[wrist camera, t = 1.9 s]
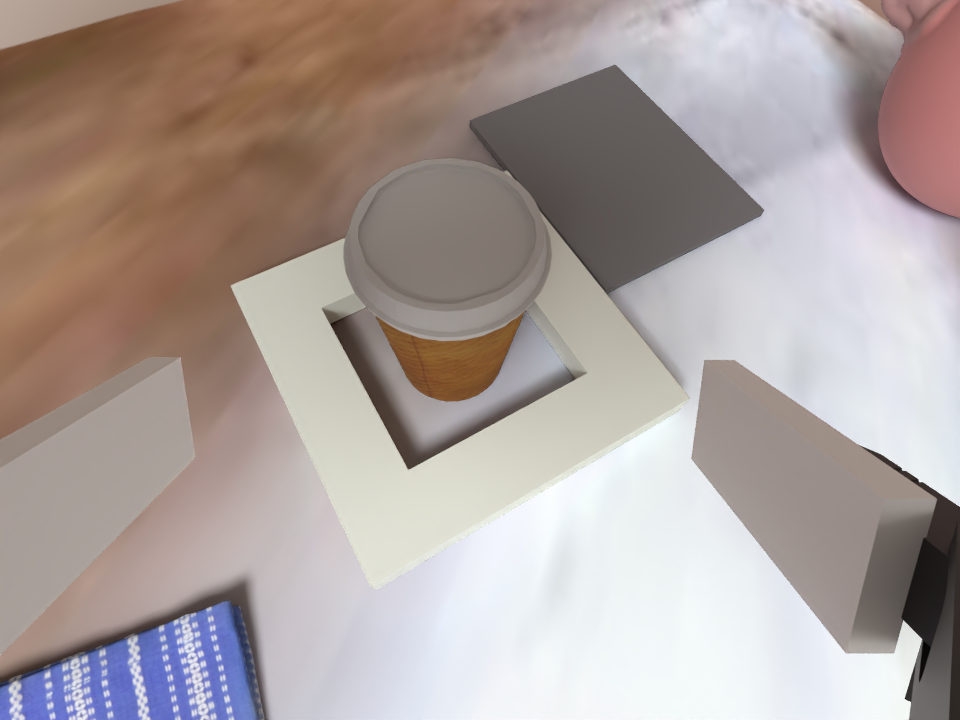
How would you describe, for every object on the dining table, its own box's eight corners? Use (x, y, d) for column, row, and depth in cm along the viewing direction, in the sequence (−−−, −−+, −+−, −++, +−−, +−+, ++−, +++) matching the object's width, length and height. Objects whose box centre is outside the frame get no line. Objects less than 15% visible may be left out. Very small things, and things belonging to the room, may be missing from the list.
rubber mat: (469, 126, 45) (469, 120, 45) (613, 71, 49) (615, 64, 48) (604, 294, 38) (606, 289, 38) (760, 215, 42) (764, 210, 41)
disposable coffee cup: (459, 267, 39) (458, 121, 28) (559, 362, 36) (600, 238, 25) (344, 349, 36) (294, 219, 25) (443, 459, 33) (433, 365, 22)
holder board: (241, 303, 37) (230, 285, 36) (505, 190, 42) (507, 170, 41) (375, 590, 30) (370, 585, 28) (678, 411, 35) (690, 398, 33)
